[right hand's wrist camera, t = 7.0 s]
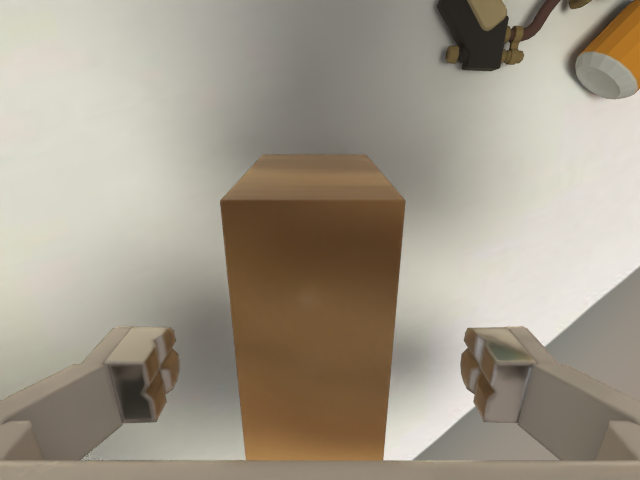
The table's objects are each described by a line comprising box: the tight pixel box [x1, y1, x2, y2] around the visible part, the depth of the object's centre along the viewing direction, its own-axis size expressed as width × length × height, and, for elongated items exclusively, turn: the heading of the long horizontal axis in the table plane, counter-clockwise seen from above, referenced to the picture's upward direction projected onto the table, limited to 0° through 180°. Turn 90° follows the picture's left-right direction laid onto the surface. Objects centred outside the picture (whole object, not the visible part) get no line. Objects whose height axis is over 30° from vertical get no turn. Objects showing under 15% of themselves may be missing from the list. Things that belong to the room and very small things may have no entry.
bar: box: [220, 154, 405, 461], centre depth 18 cm, size 24×5×8 cm, turn 0°
